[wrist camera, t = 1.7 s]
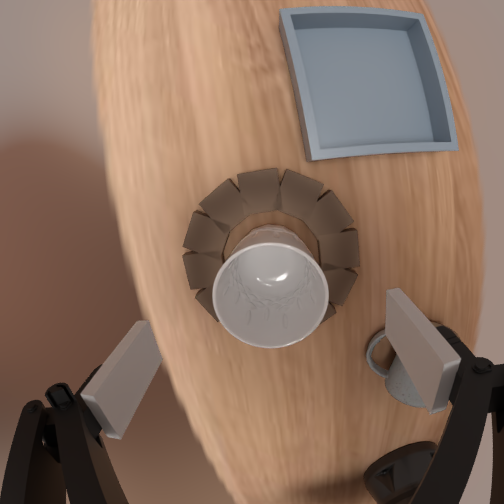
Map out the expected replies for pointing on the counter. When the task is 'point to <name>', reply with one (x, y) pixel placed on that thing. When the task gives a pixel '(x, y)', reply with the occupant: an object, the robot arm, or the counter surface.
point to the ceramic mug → (397, 375)
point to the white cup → (270, 289)
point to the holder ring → (264, 200)
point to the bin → (366, 82)
